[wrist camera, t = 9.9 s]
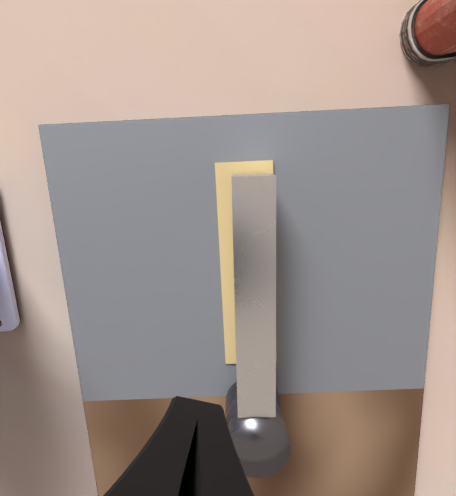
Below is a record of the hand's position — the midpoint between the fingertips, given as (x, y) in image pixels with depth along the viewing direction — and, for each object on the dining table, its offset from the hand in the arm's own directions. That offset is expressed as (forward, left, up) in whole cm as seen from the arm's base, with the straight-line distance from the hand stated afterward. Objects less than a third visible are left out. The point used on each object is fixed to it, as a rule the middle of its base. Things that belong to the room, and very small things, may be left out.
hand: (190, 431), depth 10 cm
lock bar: (+2, 0, -8) cm, 8 cm away
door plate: (+2, +2, -9) cm, 10 cm away
